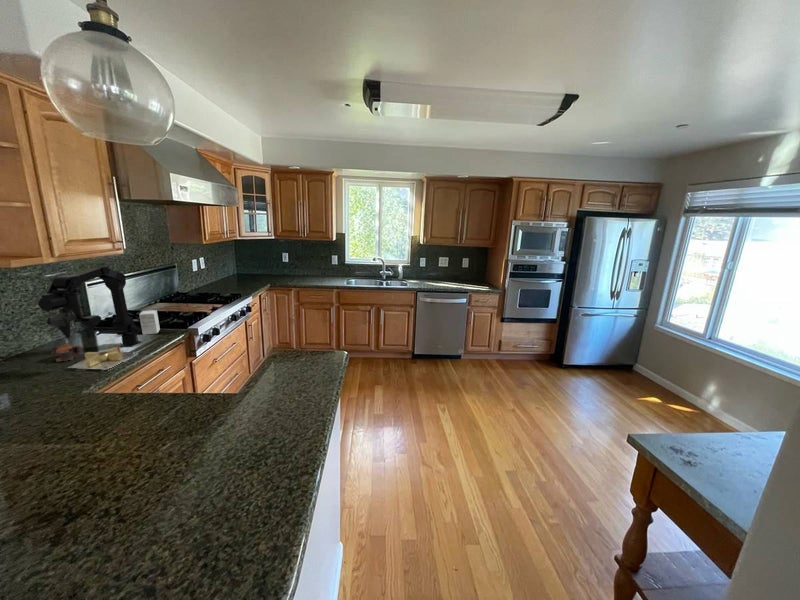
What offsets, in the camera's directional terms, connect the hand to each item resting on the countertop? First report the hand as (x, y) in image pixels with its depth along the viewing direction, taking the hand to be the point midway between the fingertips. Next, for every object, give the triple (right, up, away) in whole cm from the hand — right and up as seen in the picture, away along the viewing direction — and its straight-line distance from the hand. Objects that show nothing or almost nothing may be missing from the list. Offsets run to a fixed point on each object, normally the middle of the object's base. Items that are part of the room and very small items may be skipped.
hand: (78, 337), depth 147 cm
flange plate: (+4, -13, +9) cm, 16 cm away
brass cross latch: (+4, -11, +8) cm, 14 cm away
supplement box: (-4, -2, +48) cm, 49 cm away
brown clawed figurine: (-16, -12, +11) cm, 23 cm away
